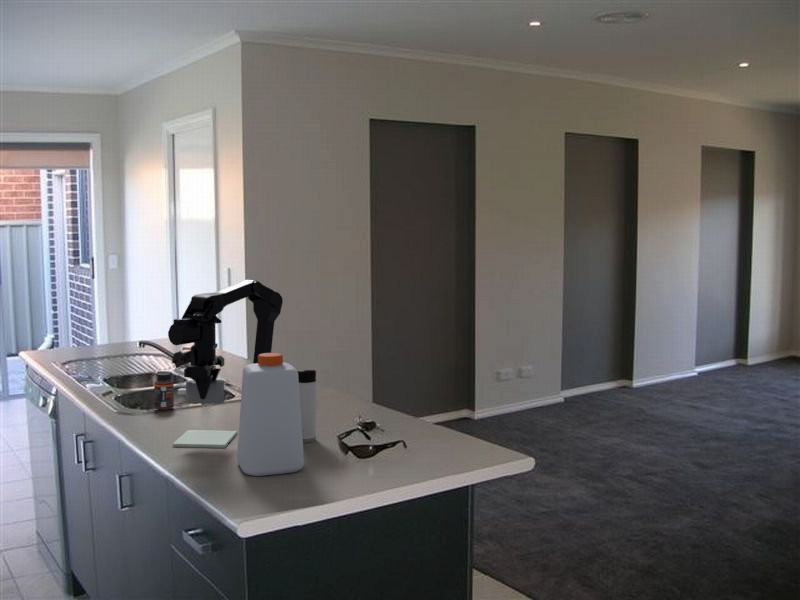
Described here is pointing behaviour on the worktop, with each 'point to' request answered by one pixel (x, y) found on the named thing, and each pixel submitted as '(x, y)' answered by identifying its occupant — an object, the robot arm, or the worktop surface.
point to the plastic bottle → (270, 418)
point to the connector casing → (213, 394)
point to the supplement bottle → (164, 392)
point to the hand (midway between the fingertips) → (205, 397)
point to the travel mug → (308, 404)
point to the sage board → (205, 438)
